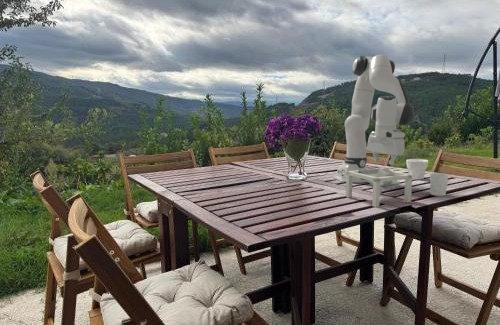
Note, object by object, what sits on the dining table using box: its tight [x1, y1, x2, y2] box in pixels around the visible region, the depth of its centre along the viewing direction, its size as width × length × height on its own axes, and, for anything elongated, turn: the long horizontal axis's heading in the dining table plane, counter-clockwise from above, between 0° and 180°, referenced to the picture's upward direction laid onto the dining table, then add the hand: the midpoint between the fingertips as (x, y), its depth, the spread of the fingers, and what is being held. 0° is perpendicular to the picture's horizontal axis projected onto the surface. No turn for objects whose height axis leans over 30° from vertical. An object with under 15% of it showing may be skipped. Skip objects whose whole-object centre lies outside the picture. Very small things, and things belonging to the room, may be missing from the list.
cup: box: [405, 158, 429, 180], centre depth 227 cm, size 12×12×11 cm
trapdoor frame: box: [345, 168, 413, 208], centre depth 175 cm, size 21×20×13 cm
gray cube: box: [377, 167, 395, 184], centre depth 170 cm, size 5×5×5 cm
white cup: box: [429, 172, 449, 197], centre depth 185 cm, size 8×8×10 cm
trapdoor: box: [358, 168, 401, 188], centre depth 175 cm, size 14×14×3 cm
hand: (383, 163), depth 170 cm, fingers open, 8 cm apart
